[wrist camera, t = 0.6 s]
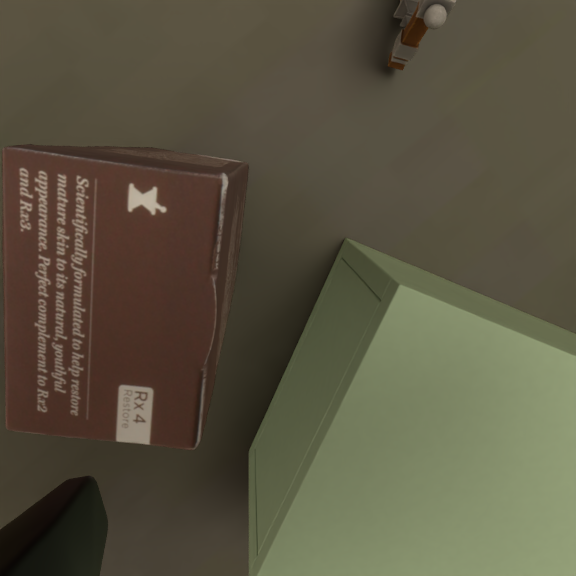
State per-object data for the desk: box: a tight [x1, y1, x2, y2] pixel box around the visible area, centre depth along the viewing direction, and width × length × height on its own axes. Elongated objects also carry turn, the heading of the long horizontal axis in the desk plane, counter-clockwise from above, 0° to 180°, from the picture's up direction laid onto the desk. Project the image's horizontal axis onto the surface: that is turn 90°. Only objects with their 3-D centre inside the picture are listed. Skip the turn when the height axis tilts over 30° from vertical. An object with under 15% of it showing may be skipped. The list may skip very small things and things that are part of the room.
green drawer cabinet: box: [249, 238, 576, 576], centre depth 20 cm, size 14×12×8 cm
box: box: [2, 144, 249, 450], centre depth 15 cm, size 6×4×12 cm
